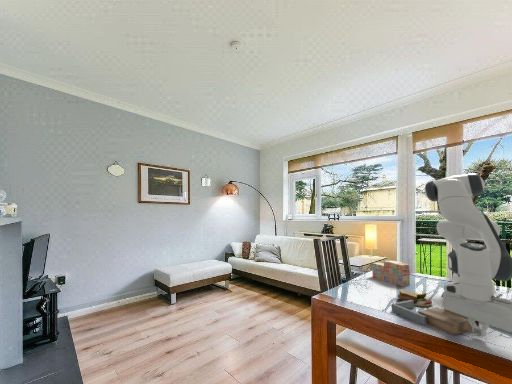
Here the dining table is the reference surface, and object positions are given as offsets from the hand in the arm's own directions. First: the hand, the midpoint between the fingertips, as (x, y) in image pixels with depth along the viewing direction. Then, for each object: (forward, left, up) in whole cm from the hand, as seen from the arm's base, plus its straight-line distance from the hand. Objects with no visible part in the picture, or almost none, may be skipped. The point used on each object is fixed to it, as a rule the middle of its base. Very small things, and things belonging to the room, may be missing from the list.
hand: (479, 334), depth 81 cm
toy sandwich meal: (-12, -31, -2) cm, 33 cm away
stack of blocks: (-32, -61, -2) cm, 68 cm away
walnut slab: (0, -11, -2) cm, 11 cm away
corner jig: (+1, -20, -2) cm, 21 cm away
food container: (-11, -11, -2) cm, 15 cm away
